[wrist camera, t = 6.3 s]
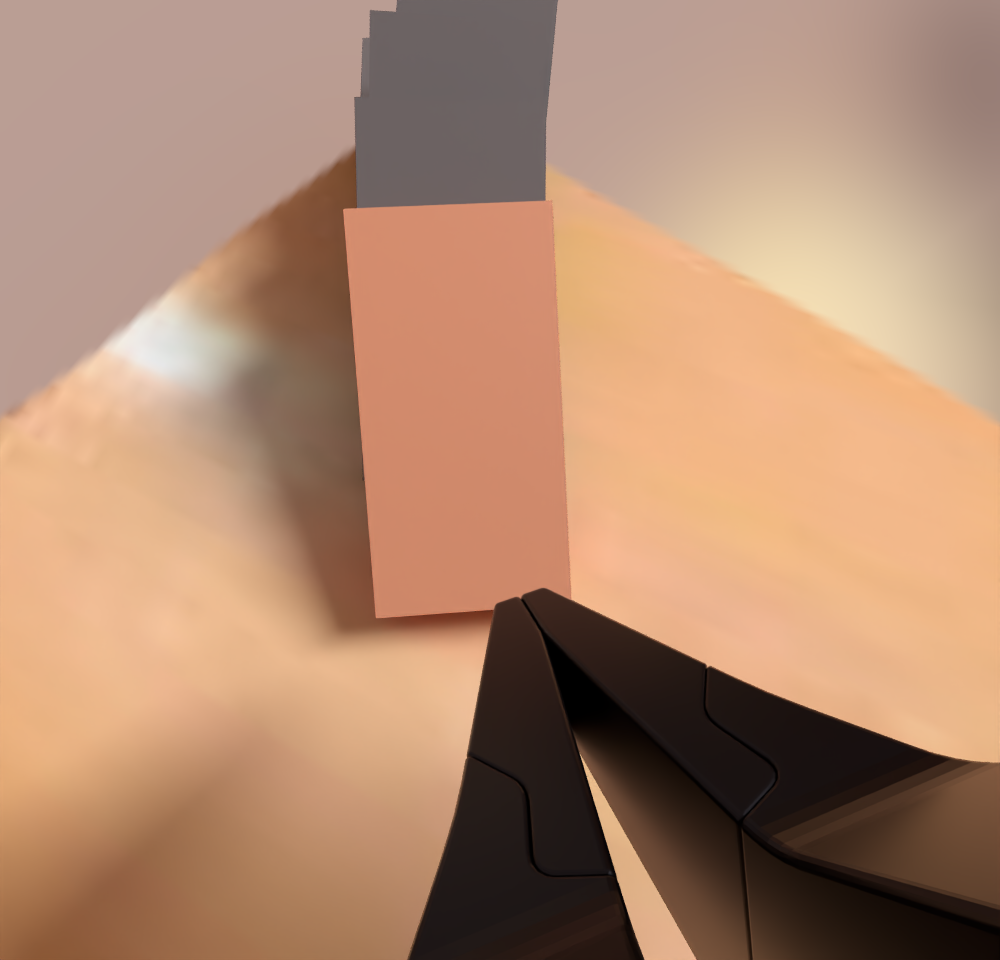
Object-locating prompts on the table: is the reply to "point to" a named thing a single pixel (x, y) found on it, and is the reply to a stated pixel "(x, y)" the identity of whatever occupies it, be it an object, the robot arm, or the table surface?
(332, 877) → the table surface
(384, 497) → the domino
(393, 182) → the domino
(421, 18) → the domino
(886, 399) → the table surface
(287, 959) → the table surface
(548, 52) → the domino
